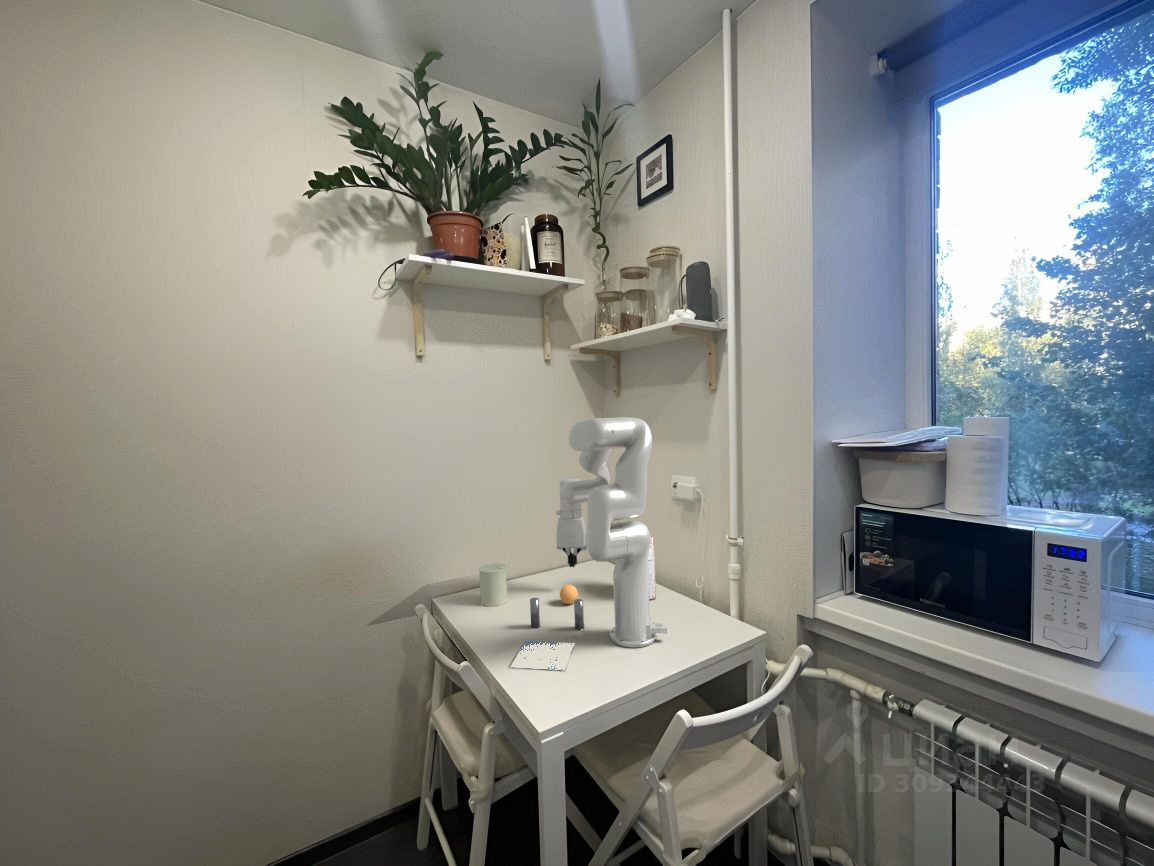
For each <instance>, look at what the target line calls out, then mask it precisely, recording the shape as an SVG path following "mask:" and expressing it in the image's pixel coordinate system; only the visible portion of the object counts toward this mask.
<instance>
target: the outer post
mask: <svg viewBox="0 0 1154 866" xmlns="http://www.w3.org/2000/svg"><path fill="white" fill-rule="evenodd" d="M529 609H530V613H529V614H530V628H531V629H533V628H536V629H539V628H540V627H541V621H540V620H541V618H540V615H541V614H540V599H539V597H531V598H529Z"/></svg>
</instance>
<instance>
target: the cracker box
mask: <svg viewBox="0 0 1154 866" xmlns="http://www.w3.org/2000/svg"><path fill="white" fill-rule="evenodd" d="M655 563H656V561H655V541H654V537H653V536H651V544H650V550H649V558H648V584H649V601H651V600H650V599H652V600H655V599H654V598H656V599H657V593H656V591H657V589H656V588H657V587H656V586H657V585H656V569H655V568H656V566H655Z"/></svg>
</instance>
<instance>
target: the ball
mask: <svg viewBox="0 0 1154 866" xmlns="http://www.w3.org/2000/svg"><path fill="white" fill-rule="evenodd" d="M578 597H579V593H578V590H577V588H576V586H574V585H572V584H565V585H564V586H563V587H562V588H560V591H559V598H560V600H561V601H562V602H563V604H565V605H573V604H574V600H576V599H579V598H578Z"/></svg>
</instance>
